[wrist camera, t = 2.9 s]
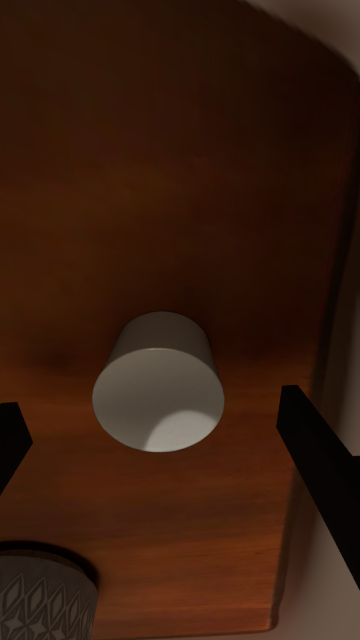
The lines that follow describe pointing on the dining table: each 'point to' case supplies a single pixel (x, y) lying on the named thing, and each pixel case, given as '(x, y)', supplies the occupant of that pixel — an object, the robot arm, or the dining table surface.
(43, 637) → the planter
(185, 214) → the dining table surface
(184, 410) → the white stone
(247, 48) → the dining table surface
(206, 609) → the dining table surface
